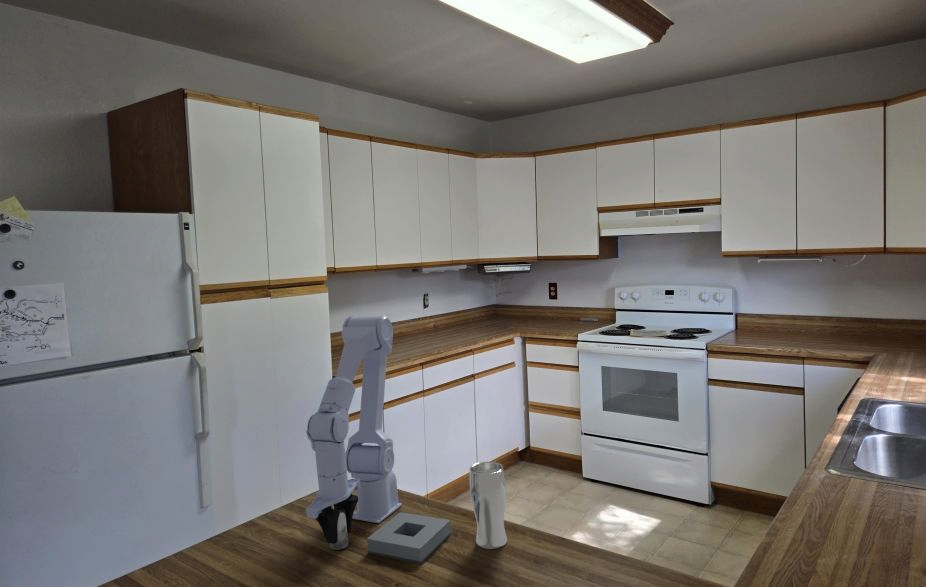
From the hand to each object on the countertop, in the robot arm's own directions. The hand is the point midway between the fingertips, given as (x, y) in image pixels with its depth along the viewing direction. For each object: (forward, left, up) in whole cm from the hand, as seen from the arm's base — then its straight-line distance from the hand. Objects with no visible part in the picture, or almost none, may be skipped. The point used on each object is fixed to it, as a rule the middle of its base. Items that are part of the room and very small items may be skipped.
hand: (338, 537), depth 125 cm
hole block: (-6, +13, -2) cm, 14 cm away
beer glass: (-12, +28, -2) cm, 31 cm away
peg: (0, 0, -2) cm, 2 cm away
